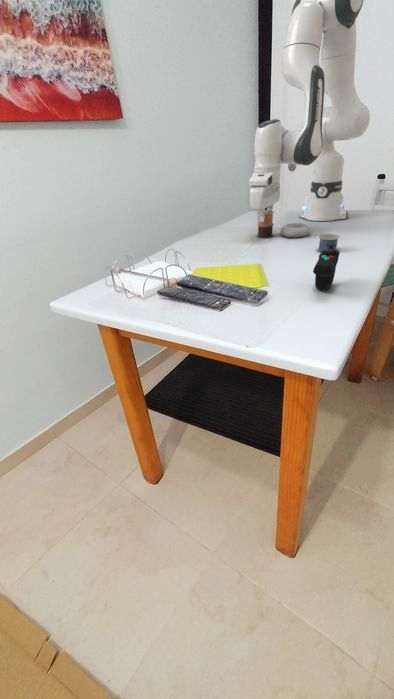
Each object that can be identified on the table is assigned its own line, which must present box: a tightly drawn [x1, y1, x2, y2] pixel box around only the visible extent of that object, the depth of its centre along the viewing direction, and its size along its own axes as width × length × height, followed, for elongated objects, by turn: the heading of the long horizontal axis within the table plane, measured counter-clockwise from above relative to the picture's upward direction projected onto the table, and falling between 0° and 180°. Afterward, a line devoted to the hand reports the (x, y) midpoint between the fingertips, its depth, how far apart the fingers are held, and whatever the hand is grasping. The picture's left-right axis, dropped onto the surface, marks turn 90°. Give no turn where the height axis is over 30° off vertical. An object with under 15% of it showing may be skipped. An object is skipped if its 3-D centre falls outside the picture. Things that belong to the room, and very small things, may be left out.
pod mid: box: [256, 209, 275, 226], centre depth 122 cm, size 6×6×4 cm
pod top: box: [318, 233, 340, 253], centre depth 104 cm, size 6×6×4 cm
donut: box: [280, 223, 310, 238], centre depth 123 cm, size 10×4×10 cm
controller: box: [312, 243, 341, 291], centre depth 77 cm, size 4×12×10 cm, turn 153°
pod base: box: [257, 223, 275, 239], centre depth 124 cm, size 6×6×4 cm
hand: (265, 219), depth 122 cm, fingers closed on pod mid, 5 cm apart
